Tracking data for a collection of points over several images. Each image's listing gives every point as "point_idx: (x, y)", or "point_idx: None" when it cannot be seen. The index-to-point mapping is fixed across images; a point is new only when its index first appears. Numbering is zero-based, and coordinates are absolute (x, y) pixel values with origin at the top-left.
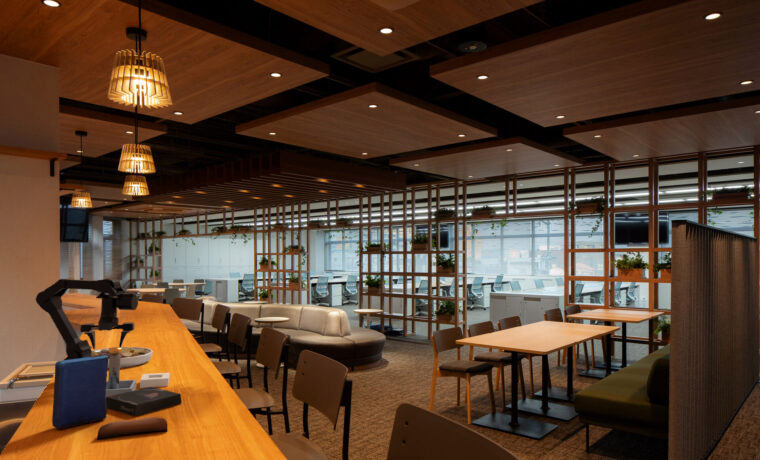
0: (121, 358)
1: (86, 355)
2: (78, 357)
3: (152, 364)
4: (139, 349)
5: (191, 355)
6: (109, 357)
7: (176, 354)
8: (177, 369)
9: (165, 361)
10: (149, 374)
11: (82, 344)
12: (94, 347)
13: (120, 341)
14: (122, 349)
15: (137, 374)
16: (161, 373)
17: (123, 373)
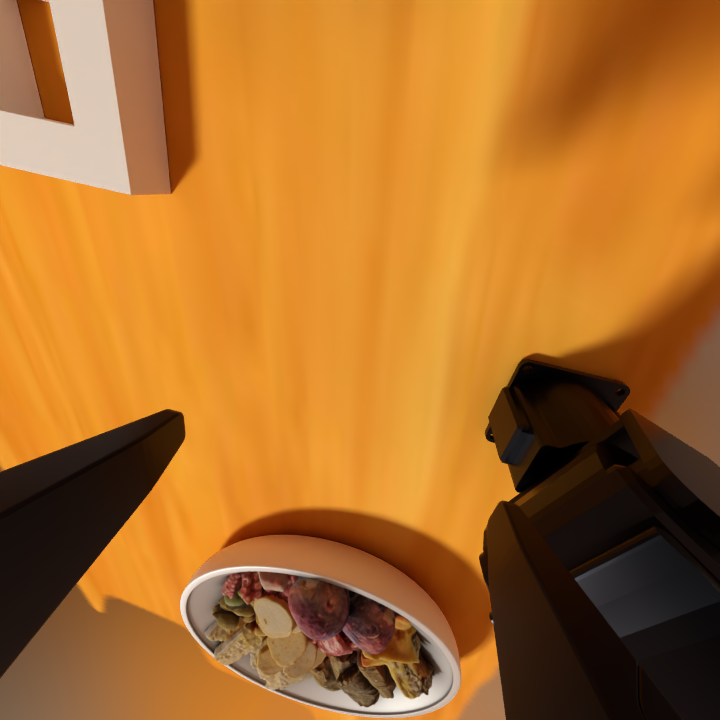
0: (291, 569)
1: (544, 504)
2: (654, 461)
3: (195, 527)
4: (238, 657)
5: (92, 572)
6: (345, 602)
7: (145, 603)
8: (69, 403)
9: (157, 544)
10: (81, 155)
11: (667, 678)
12: (511, 520)
13: (65, 473)
14: (293, 671)
15: (229, 394)
16: (6, 152)
17: (295, 444)
